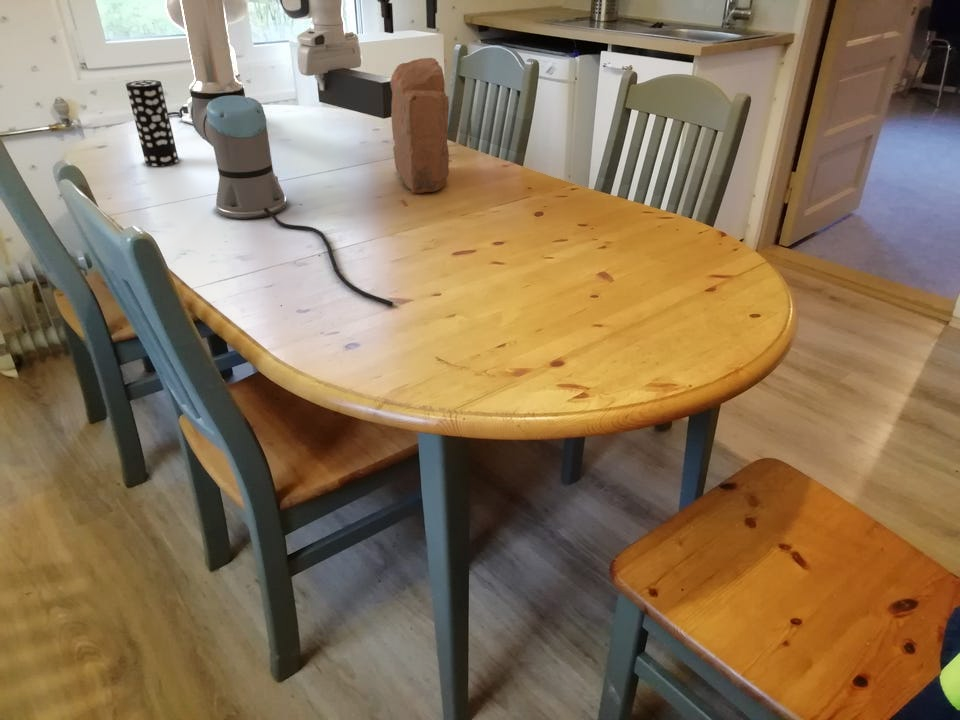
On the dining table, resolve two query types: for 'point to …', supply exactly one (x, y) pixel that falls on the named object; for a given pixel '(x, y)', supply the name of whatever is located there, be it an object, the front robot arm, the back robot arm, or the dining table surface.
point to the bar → (357, 92)
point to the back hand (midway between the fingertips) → (333, 88)
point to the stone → (420, 124)
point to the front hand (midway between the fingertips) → (410, 30)
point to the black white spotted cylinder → (152, 122)
